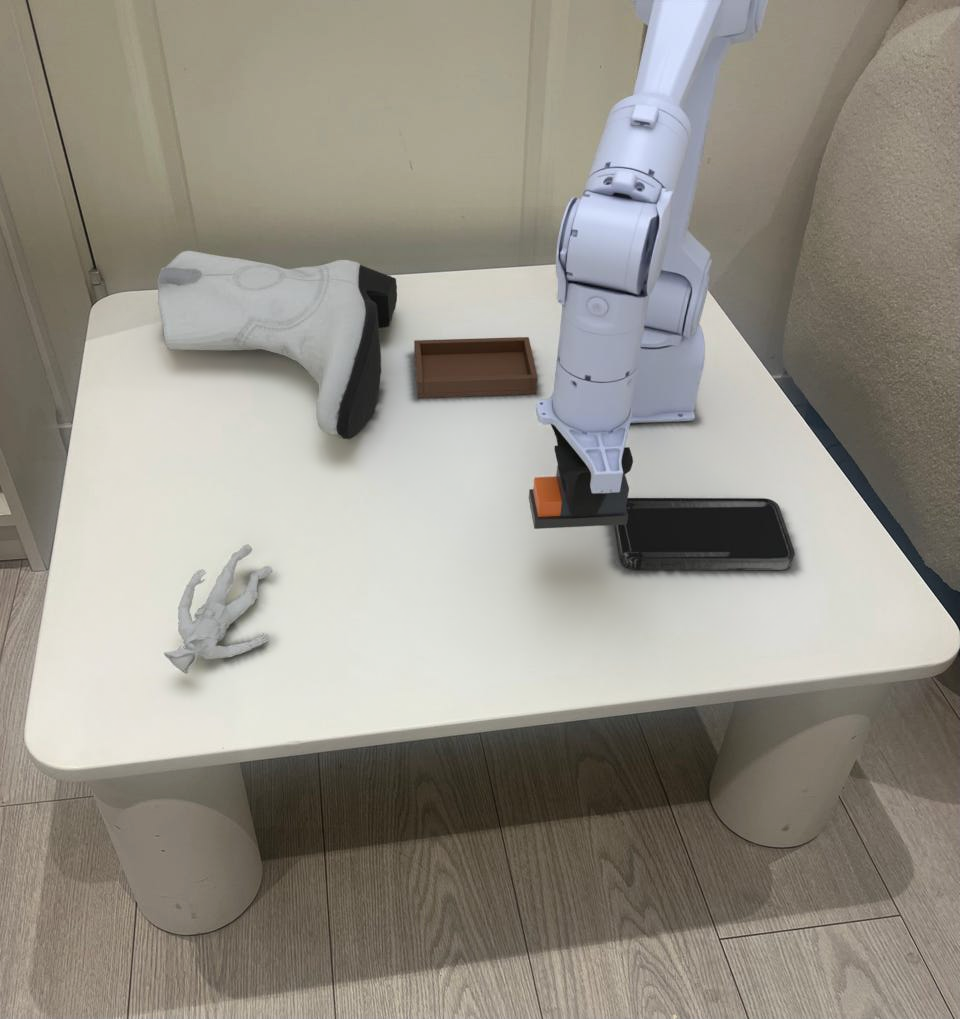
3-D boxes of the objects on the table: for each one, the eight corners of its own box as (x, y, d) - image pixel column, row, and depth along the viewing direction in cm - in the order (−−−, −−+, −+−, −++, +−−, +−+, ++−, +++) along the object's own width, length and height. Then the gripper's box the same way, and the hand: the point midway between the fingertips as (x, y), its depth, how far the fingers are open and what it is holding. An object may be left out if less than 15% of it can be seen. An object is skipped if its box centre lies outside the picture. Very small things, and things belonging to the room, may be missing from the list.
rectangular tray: (527, 352, 109) (528, 336, 108) (536, 394, 104) (537, 377, 103) (414, 356, 108) (414, 340, 107) (417, 398, 103) (417, 381, 102)
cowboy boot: (404, 242, 110) (178, 226, 111) (356, 378, 89) (78, 356, 90) (406, 319, 116) (191, 304, 117) (361, 464, 95) (100, 442, 96)
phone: (612, 497, 92) (776, 498, 92) (611, 506, 92) (773, 506, 93) (624, 561, 86) (798, 561, 87) (622, 570, 87) (795, 570, 87)
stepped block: (618, 493, 84) (624, 459, 81) (626, 524, 81) (633, 490, 79) (528, 497, 83) (531, 463, 80) (534, 529, 81) (537, 494, 78)
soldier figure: (298, 594, 85) (251, 676, 75) (259, 622, 87) (207, 706, 76) (234, 527, 83) (176, 602, 73) (195, 557, 85) (133, 634, 74)
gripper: (528, 302, 76) (518, 439, 86) (556, 426, 66) (542, 566, 76) (620, 299, 77) (600, 435, 86) (662, 422, 67) (634, 561, 76)
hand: (578, 496), depth 81 cm, fingers closed on stepped block, 3 cm apart
